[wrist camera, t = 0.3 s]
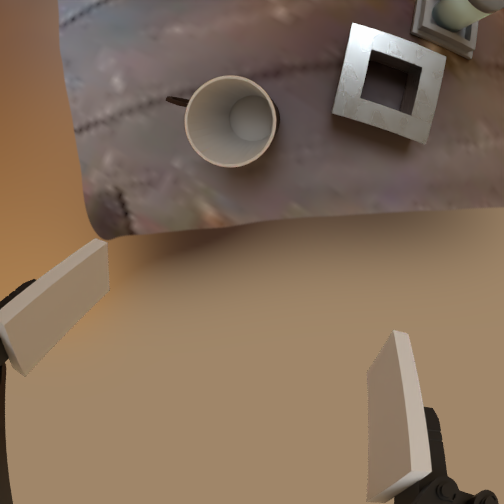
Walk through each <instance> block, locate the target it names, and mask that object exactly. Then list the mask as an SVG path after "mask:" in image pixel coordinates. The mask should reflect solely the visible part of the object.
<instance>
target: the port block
mask: <svg viewBox="0 0 504 504" xmlns="http://www.w3.org/2000/svg"><path fill="white" fill-rule="evenodd" d="M369 60H371V61H374V62H377V63H380V64H383V65H386V66H389V67H392V68H394V69H397V70H400V71H403V72H405V73H408V77H407V81H406V86H405V90H404V94H403V99H402V103H401V107H400V111H397V110H394V109H391V108H388V107H386V106H383V105H380V104H377V103H374V102H371V101H368V100H365V99H361V98H360V97H361V93H362V88H363V84H364V80H365V75H366V71H367V67H368V62H369ZM445 62H446V57H445V56H443V55H441V54H439V53H437V52H434V51H432V50H430V49H427V48H425V47H422V46H420V45H418V44H415V43H412V42H410V41H407V40H405V39H402V38H399V37H396V36H394V35H391V34H388V33H385V32H382V31H379V30H376V29H372V28H369V27H366V26H362V25H359V24H355V23H352V26H351V30H350V33H349V37H348V42H347V46H346V51H345V55H344V60H343V64H342V69H341V73H340V78H339V82H338V86H337V90H336V95H335V99H334V103H333V107H332V111H331V113H333V114H336V115H340V116H343V117H347V118H350V119H353V120H356V121H360V122H363V123H366V124H369V125H372V126H375V127H378V128H381V129H384V130H387V131H390V132H392V133H395V134H398V135H401V136H403V137H406V138H409V139H411V140H414V141H417V142H419V143H422V144H424V145H426V143H427V139H428V135H429V132H430V128H431V124H432V120H433V117H434V113H435V108H436V104H437V100H438V96H439V91H440V87H441V82H442V77H443V72H444V67H445Z"/></svg>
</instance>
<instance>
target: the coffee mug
mask: <svg viewBox="0 0 504 504" xmlns="http://www.w3.org/2000/svg"><path fill="white" fill-rule="evenodd" d="M166 101H168V102H170V103H173V104H176V105H179V106H184V107H187V108H186V113H185V130H186V135H187V137H188V140H189V142H190V144H191V146H192V147H193V149H194V150H195V151H196V152H197V153H198V154H199V155H200V156H201V157H202V158H203V159H205V160H206V161H208V162H210V163H212V164H214V165H218V166H221V167H240V166H243V165H246V164H249V163H251V162H253V161H254V160H256V159H257V158H259V157H260V156H261V155H262V154H263V153H264V152H265V151H266V150H267V148H268V147H269V146H270V144H271V142H272V140H273V138H274V135H275V133H276V131H277V129H278V126H279V121H280V116H279V111H278V108H277V106H276V105H275V103H274V102H273V100H272V99H271V98H270V96H269V95H268V94H267V93H266V92H265V91H264V90H263V88H262V87H261V86H259V85H258V84H256V83H255V82H254V81H252V80H249V79H247V78H245V77H240V76H221V77H217V78H214V79H212V80H210V81H208V82H206V83H205V84H203V85H202V86H201V87H200V88H199V89H198V90H197V91H196V92H195V93H194V94H193V96H192V97H191V99H190V100H187V99H183V98H177V97H169V96H168V97H167V98H166Z"/></svg>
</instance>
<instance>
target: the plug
mask: <svg viewBox="0 0 504 504" xmlns="http://www.w3.org/2000/svg"><path fill="white" fill-rule="evenodd" d="M502 8H504V0H441V1H440V2H439V3H437V4H436V5H435V6H434V8H433V10H432V16H433V19H434V21H435V22H436V24H437V25H438V26H439V27H441V28H444V29H446V30H448V31H450V32H452V33H454V32H457V31H459V30H461V29H463V28H465V27H467V26H469V25H470V24H472V23H474V22H476V21H478V20H480V19H482V18H484V17H486V16H488V15H490V14H492V13H494V12H496V11H498V10H500V9H502Z"/></svg>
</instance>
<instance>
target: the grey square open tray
mask: <svg viewBox="0 0 504 504" xmlns="http://www.w3.org/2000/svg"><path fill="white" fill-rule="evenodd" d="M440 1H441V0H416V1H415V8H414V15H413V21H412V27H411V32H410V34H413V35H415V36H418V37H421V38H423V39H425V40H428V41H430V42H432V43H435V44H437V45H439V46H442V47H444V48H446V49H448V50H450V51H452V52H454V53H456V54H458V55H460V56H462V57H464V58H466V59H468V60H469V59H472V54H473V51H474V50H475V46H476V39H477V30H478V21H479V20H478V21H476V22H474V23H472V24H470V25H469V26H467V27H465V28H463V29H461V30H459V31H457V32H454V33H452V32H450V31H448V30H446V29H444V28H441V27H439V26H438V25H437V24H436V22H435V21H434V19H433V16H432V10H433V8H434V6H435V5H436V4H437V3H439V2H440Z"/></svg>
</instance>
